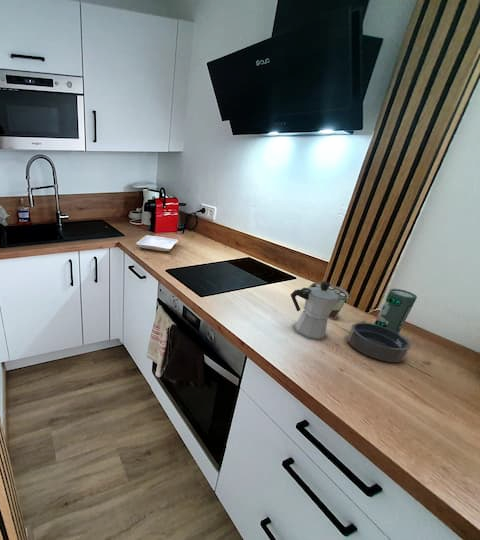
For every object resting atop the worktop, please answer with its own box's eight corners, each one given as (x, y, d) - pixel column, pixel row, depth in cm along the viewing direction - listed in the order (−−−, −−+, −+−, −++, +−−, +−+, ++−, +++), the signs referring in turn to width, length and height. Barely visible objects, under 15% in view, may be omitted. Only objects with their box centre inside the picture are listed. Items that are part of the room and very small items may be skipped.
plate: (146, 239, 184) (146, 234, 183) (178, 244, 177) (179, 239, 175) (134, 248, 166) (135, 243, 165) (170, 254, 159) (170, 248, 157)
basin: (393, 342, 90) (399, 329, 88) (411, 369, 79) (419, 355, 77) (342, 331, 95) (347, 318, 93) (353, 355, 84) (359, 341, 82)
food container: (346, 316, 104) (356, 292, 100) (339, 321, 100) (349, 296, 96) (310, 302, 113) (318, 279, 109) (302, 306, 110) (310, 283, 106)
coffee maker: (325, 327, 97) (343, 279, 90) (336, 342, 89) (357, 292, 82) (277, 320, 100) (291, 273, 93) (284, 334, 92) (300, 285, 85)
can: (372, 325, 99) (390, 286, 93) (395, 332, 95) (415, 292, 89) (372, 333, 94) (390, 293, 88) (396, 341, 91) (417, 300, 85)
